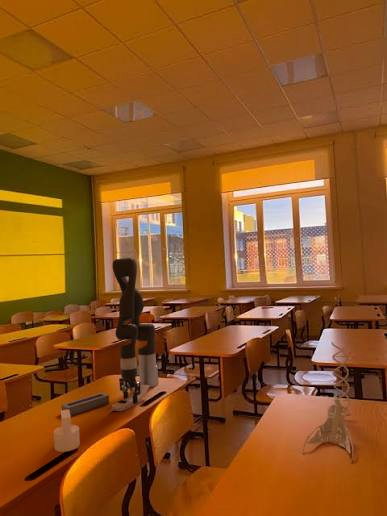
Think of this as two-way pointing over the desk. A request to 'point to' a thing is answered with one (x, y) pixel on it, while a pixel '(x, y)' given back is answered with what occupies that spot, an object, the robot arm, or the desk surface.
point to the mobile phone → (129, 400)
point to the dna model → (340, 376)
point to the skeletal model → (333, 428)
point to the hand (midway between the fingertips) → (130, 401)
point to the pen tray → (86, 403)
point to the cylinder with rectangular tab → (66, 434)
